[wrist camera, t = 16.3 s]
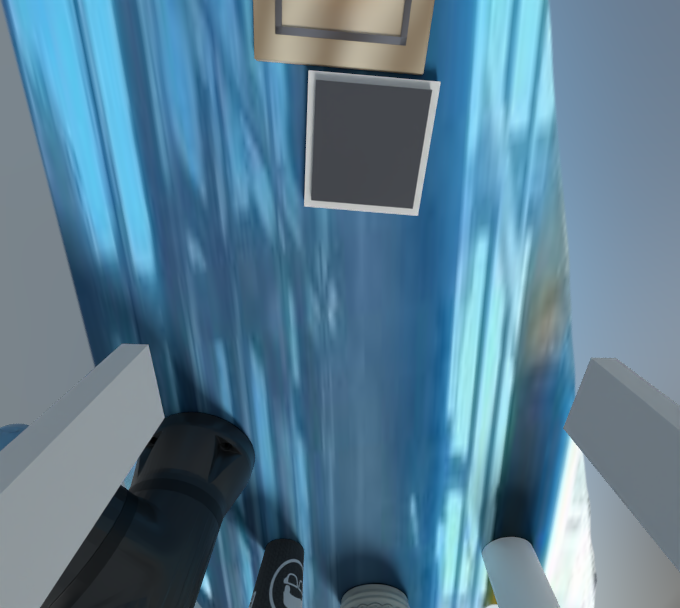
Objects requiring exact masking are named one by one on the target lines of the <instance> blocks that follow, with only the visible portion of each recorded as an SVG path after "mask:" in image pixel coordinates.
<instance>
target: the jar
mask: <svg viewBox="0 0 680 608" xmlns="http://www.w3.org/2000/svg"><path fill="white" fill-rule="evenodd" d="M340 608H410V606H409V604H408V599H407V597H406V596H405V594H404V593H403V592H401V591H400V590H398V589H396V588H394V587H391V586H388V585H382V584H366V585H361V586H357V587H355V588H353V589H351V590H349V591H348V592H346V593H345V594H344V596H343V597H342V601H341V606H340Z"/></svg>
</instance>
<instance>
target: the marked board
mask: <svg viewBox="0 0 680 608" xmlns="http://www.w3.org/2000/svg"><path fill="white" fill-rule="evenodd" d="M433 7H434V0H253V14H254V57H255V59H256V60H257V61H266V62H277V63H289V64H300V65H311V66H323V67H334V68H345V69H356V70H368V71H379V72H390V73H402V74H413V75H422V74H423V73H424V66H425V59H426V53H427V46H428V40H429V33H430V27H431V20H432V13H433Z"/></svg>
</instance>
